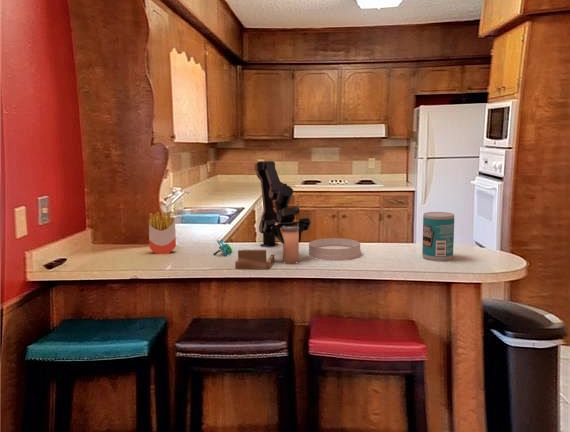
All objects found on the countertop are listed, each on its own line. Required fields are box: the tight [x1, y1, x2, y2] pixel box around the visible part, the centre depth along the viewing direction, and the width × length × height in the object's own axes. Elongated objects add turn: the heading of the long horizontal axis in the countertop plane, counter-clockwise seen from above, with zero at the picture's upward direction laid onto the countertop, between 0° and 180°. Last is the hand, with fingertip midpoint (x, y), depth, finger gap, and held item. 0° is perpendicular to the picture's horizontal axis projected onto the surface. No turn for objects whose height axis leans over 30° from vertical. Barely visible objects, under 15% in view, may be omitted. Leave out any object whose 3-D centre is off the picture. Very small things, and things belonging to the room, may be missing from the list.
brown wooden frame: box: [234, 249, 275, 270], centre depth 206 cm, size 13×13×7 cm
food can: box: [421, 211, 455, 262], centre depth 210 cm, size 12×12×18 cm
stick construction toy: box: [212, 239, 233, 257], centre depth 225 cm, size 12×7×8 cm
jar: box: [281, 225, 300, 264], centre depth 209 cm, size 7×7×14 cm
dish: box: [308, 237, 362, 261], centre depth 221 cm, size 22×22×5 cm
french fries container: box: [148, 211, 177, 255], centre depth 229 cm, size 5×11×18 cm, turn 94°
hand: (291, 242), depth 207 cm, fingers closed on jar, 6 cm apart
